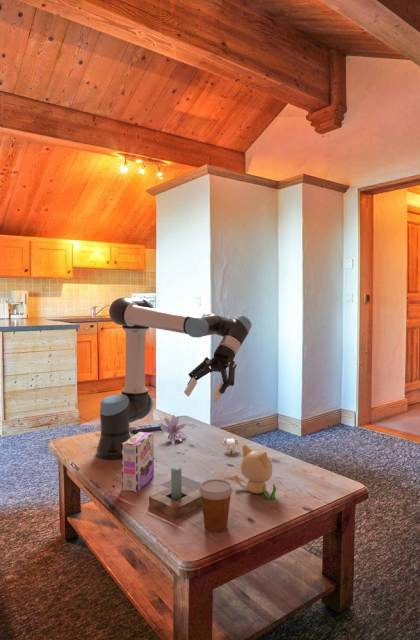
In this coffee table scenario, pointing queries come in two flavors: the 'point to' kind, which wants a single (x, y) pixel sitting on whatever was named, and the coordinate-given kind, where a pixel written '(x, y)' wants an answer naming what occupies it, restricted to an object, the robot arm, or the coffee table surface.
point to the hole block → (175, 502)
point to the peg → (176, 483)
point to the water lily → (172, 430)
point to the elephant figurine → (230, 444)
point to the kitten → (255, 471)
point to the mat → (186, 483)
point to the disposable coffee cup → (215, 504)
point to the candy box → (137, 461)
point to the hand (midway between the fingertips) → (200, 397)
